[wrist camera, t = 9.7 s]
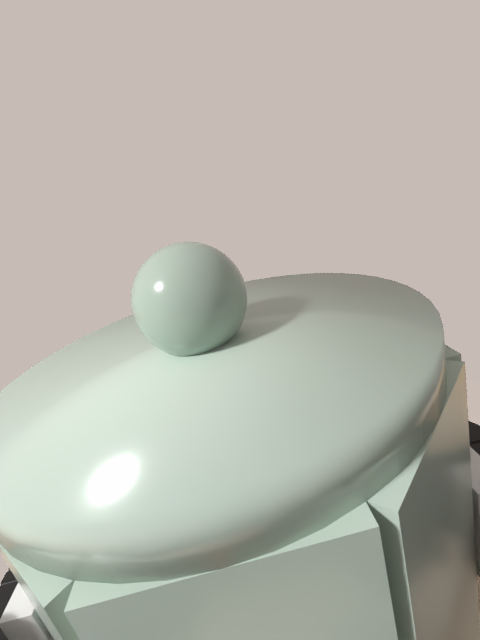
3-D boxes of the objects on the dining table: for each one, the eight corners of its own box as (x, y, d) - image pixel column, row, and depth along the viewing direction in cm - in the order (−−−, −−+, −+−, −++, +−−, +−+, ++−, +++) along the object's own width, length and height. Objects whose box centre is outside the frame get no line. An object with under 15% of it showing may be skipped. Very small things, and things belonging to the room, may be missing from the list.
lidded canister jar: (377, 505, 17) (325, 191, 13) (585, 874, 8) (667, 162, 3) (170, 561, 17) (45, 265, 13) (127, 1002, 8) (-429, 452, 3)
